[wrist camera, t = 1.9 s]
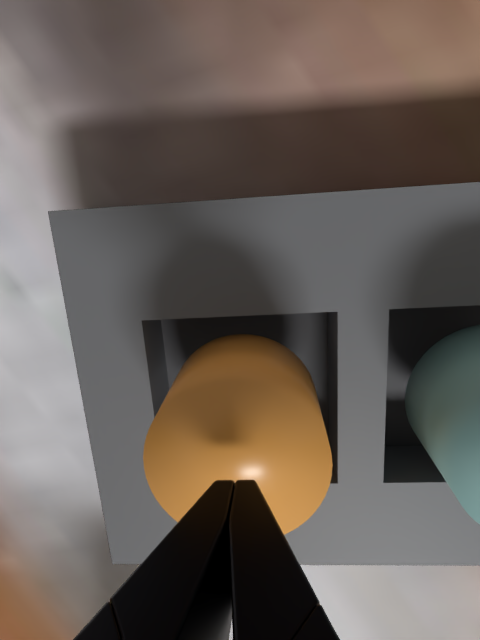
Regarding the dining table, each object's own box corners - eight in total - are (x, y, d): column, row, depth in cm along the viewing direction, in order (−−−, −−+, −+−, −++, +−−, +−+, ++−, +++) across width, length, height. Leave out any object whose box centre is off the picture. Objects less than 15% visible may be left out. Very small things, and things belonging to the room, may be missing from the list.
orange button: (315, 331, 12) (331, 375, 9) (317, 463, 13) (333, 543, 10) (166, 337, 12) (131, 381, 9) (181, 465, 13) (155, 543, 10)
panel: (895, 155, 12) (1065, 141, 9) (776, 506, 15) (878, 567, 12) (88, 210, 14) (47, 211, 11) (135, 510, 17) (112, 564, 14)
